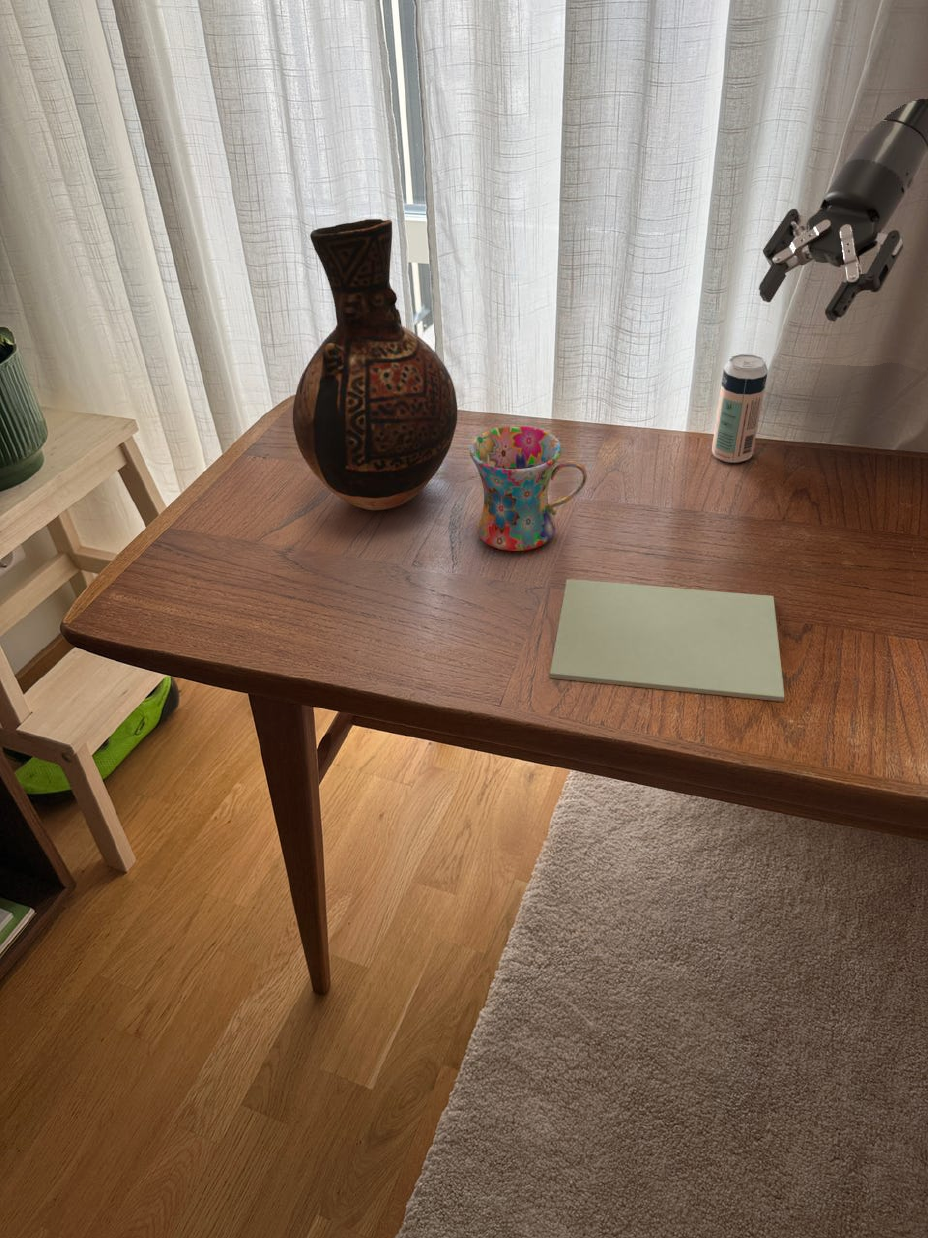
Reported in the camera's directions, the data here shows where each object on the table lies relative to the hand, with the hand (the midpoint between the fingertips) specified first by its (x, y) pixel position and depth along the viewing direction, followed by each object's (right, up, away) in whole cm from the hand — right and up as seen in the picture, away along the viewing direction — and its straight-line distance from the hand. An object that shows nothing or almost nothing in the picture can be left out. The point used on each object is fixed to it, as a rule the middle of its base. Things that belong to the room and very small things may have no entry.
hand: (795, 307), depth 101 cm
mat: (-19, -37, -19) cm, 46 cm away
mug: (-31, -27, -5) cm, 41 cm away
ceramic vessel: (-47, -20, +4) cm, 52 cm away
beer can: (-5, -16, +6) cm, 18 cm away
